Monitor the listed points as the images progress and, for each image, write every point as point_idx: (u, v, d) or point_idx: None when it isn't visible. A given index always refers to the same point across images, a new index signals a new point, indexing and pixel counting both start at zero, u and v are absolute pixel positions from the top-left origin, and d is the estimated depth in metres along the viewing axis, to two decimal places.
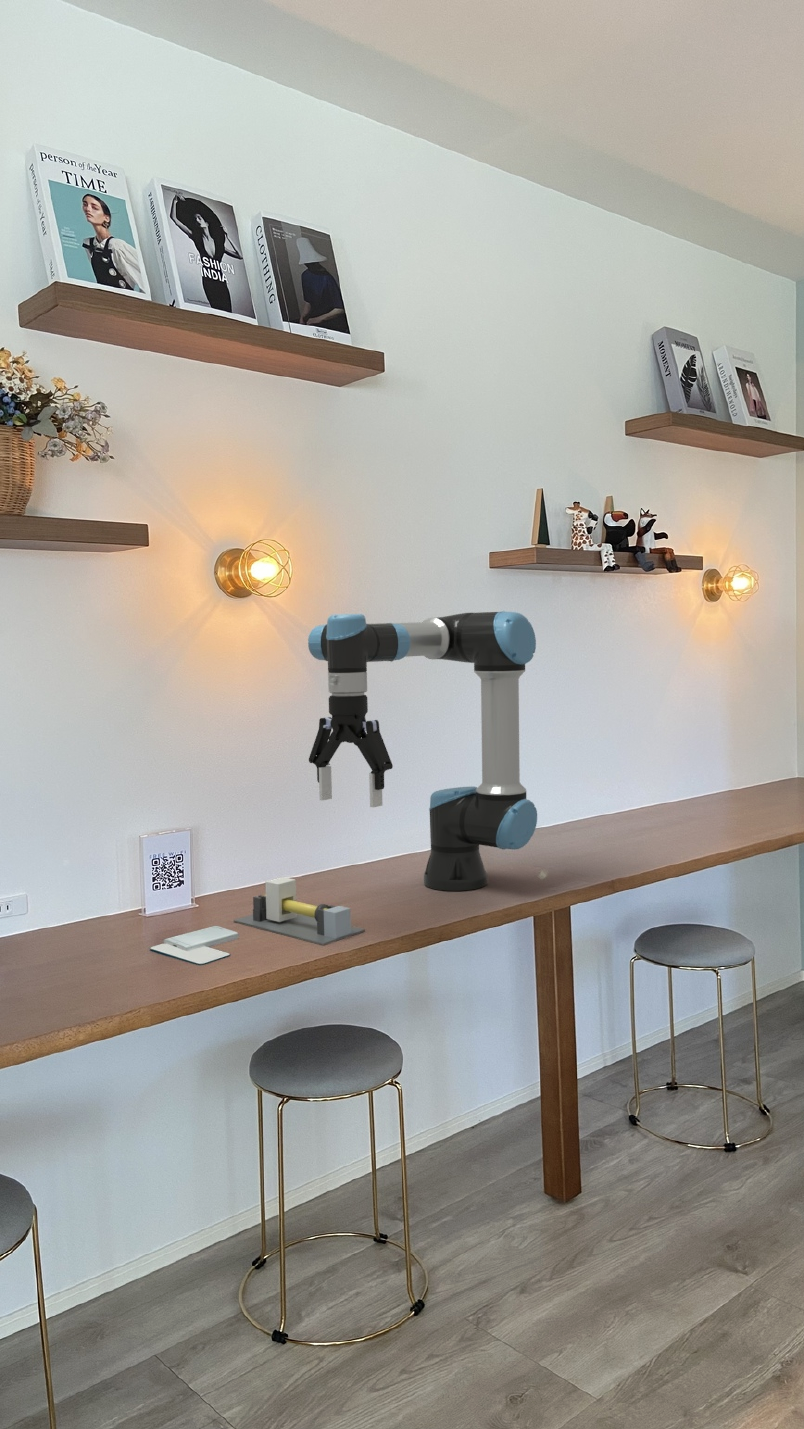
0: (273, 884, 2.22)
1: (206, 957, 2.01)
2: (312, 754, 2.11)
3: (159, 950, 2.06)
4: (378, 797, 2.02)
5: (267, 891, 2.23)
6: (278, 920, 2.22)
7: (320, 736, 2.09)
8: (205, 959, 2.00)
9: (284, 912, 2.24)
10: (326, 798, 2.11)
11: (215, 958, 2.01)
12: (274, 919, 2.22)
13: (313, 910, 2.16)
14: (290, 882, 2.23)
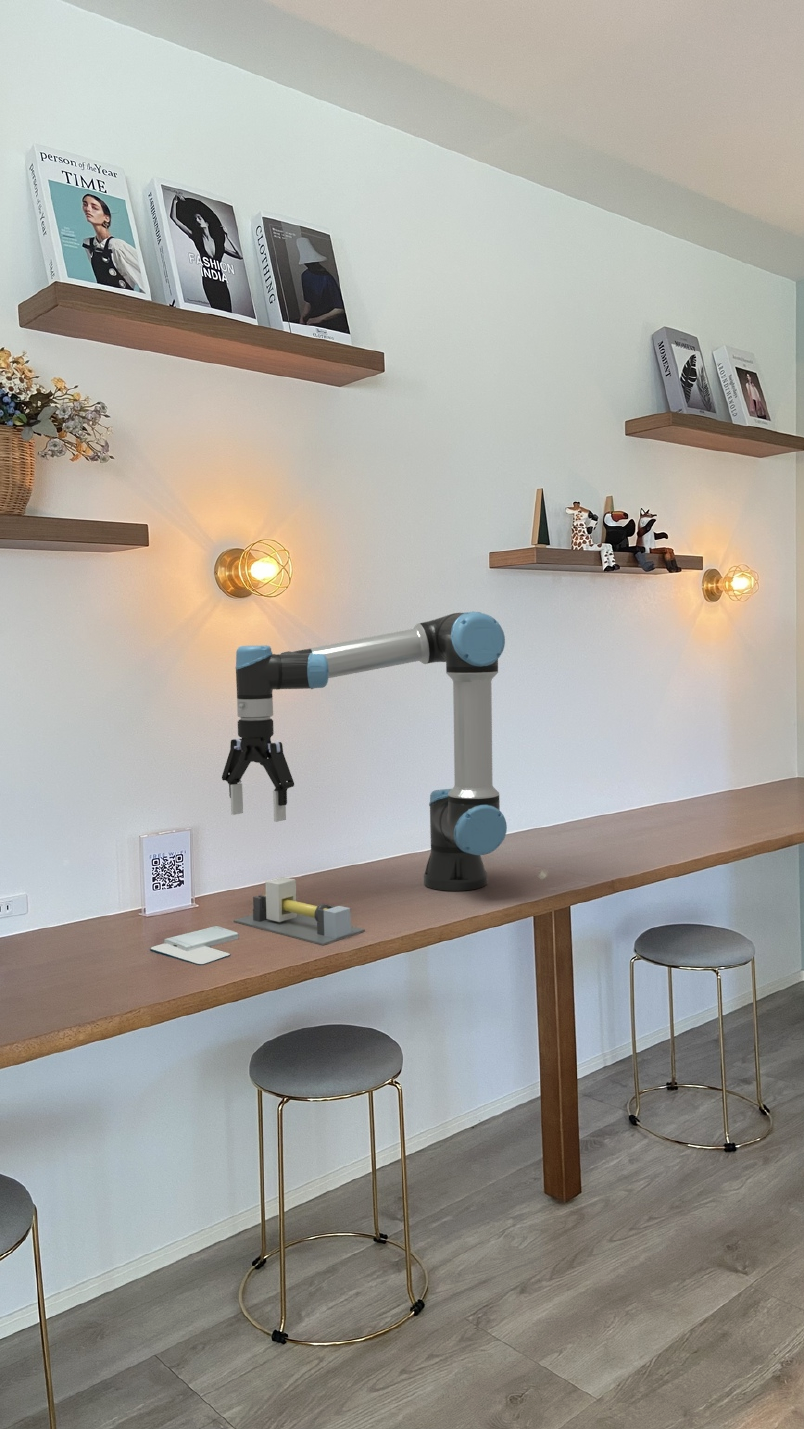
0: (273, 884, 2.22)
1: (206, 958, 2.01)
2: (224, 773, 2.31)
3: (159, 950, 2.06)
4: (282, 812, 2.22)
5: (267, 891, 2.23)
6: (278, 920, 2.22)
7: (231, 756, 2.29)
8: (205, 960, 2.00)
9: (284, 912, 2.24)
10: (237, 812, 2.31)
11: (215, 958, 2.01)
12: (274, 919, 2.22)
13: (313, 910, 2.16)
14: (290, 882, 2.23)
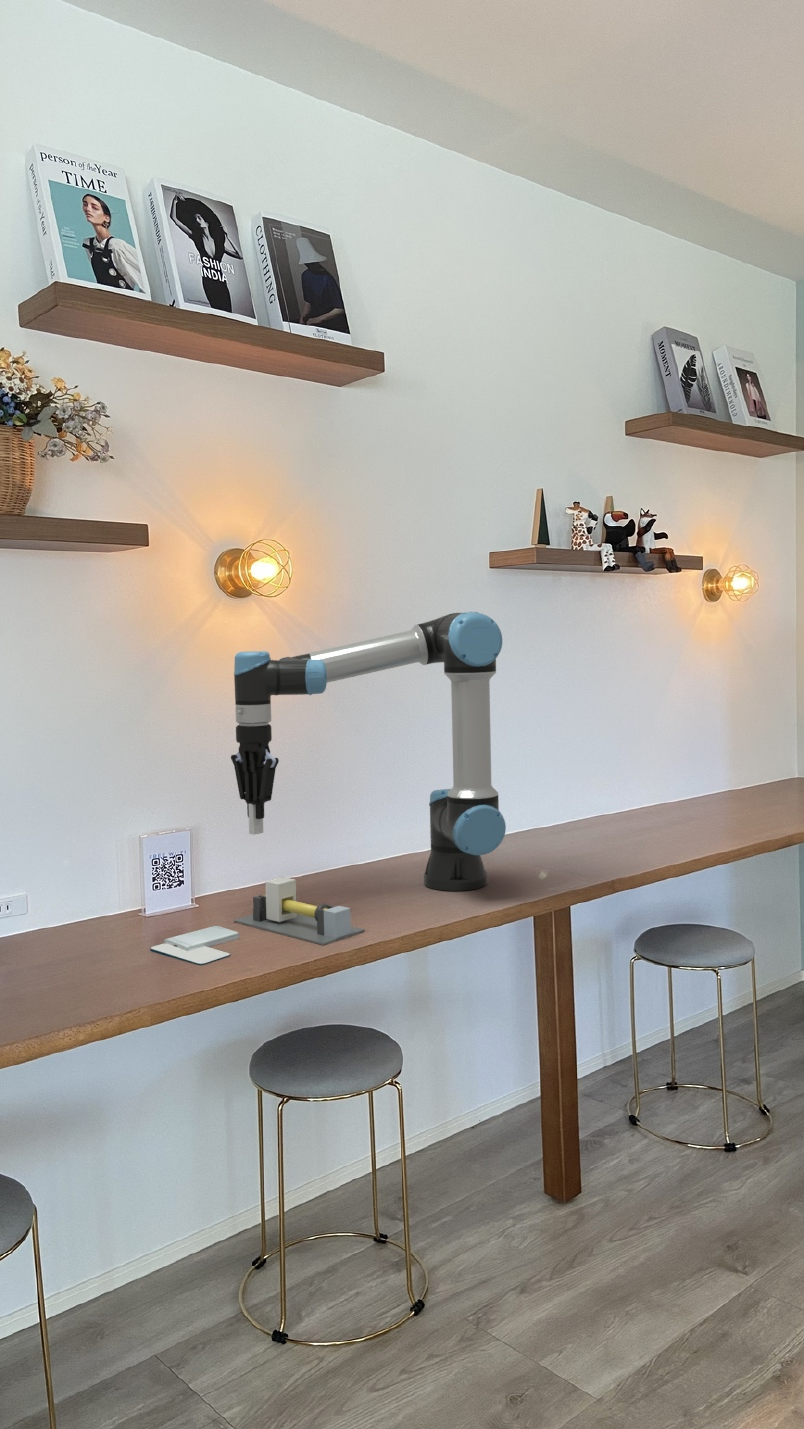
0: (273, 884, 2.22)
1: (207, 957, 2.01)
2: (240, 791, 2.28)
3: (159, 950, 2.06)
4: (259, 825, 2.27)
5: (267, 891, 2.23)
6: (278, 920, 2.22)
7: (238, 770, 2.28)
8: (205, 959, 2.00)
9: (284, 912, 2.24)
10: None
11: (215, 958, 2.01)
12: (274, 919, 2.22)
13: (313, 910, 2.16)
14: (290, 882, 2.23)
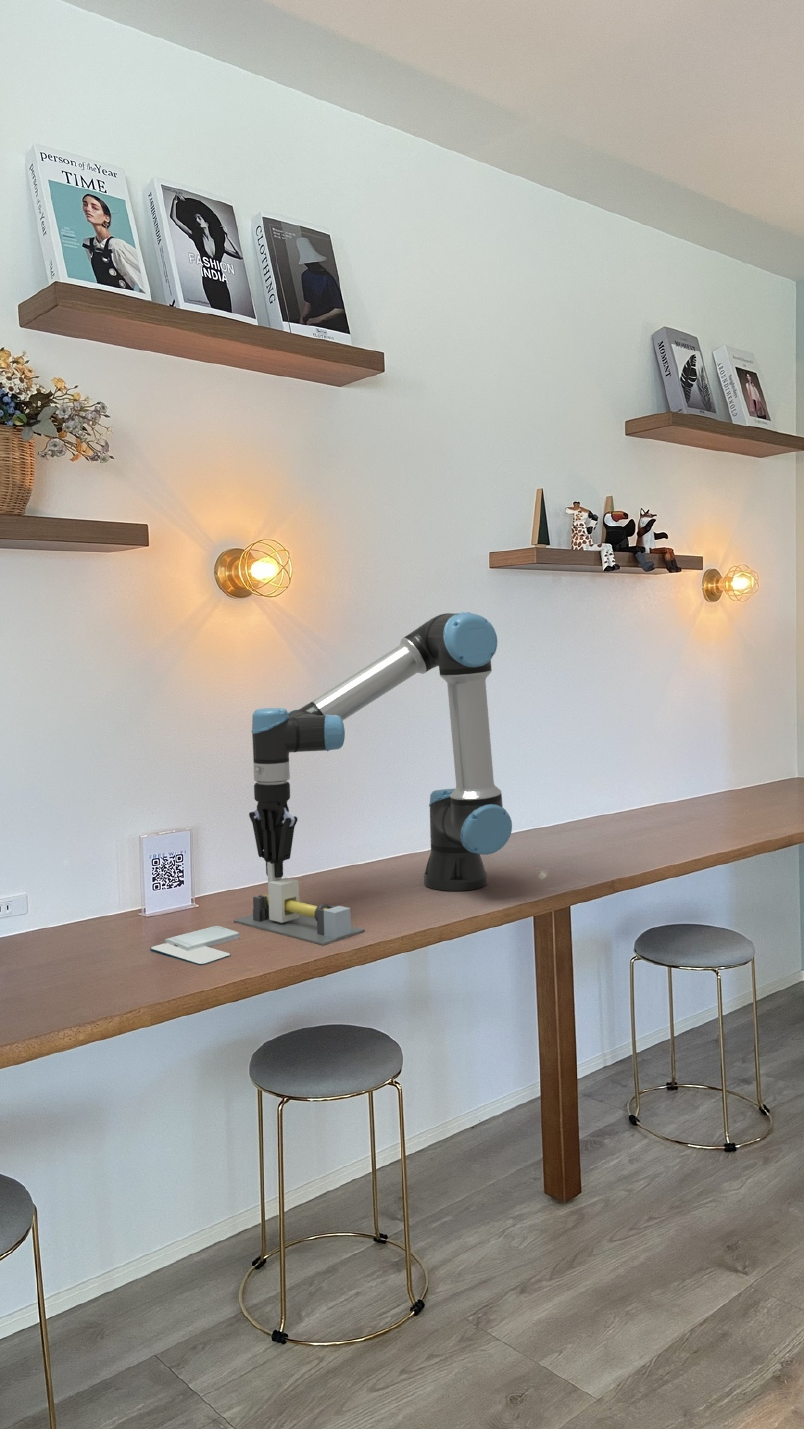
0: (276, 885, 2.21)
1: (207, 958, 2.01)
2: (258, 849, 2.26)
3: (160, 950, 2.06)
4: None
5: (270, 892, 2.23)
6: (281, 921, 2.21)
7: (256, 828, 2.26)
8: (206, 960, 2.00)
9: (287, 913, 2.24)
10: None
11: (216, 958, 2.01)
12: (277, 920, 2.22)
13: (313, 910, 2.16)
14: (293, 883, 2.23)
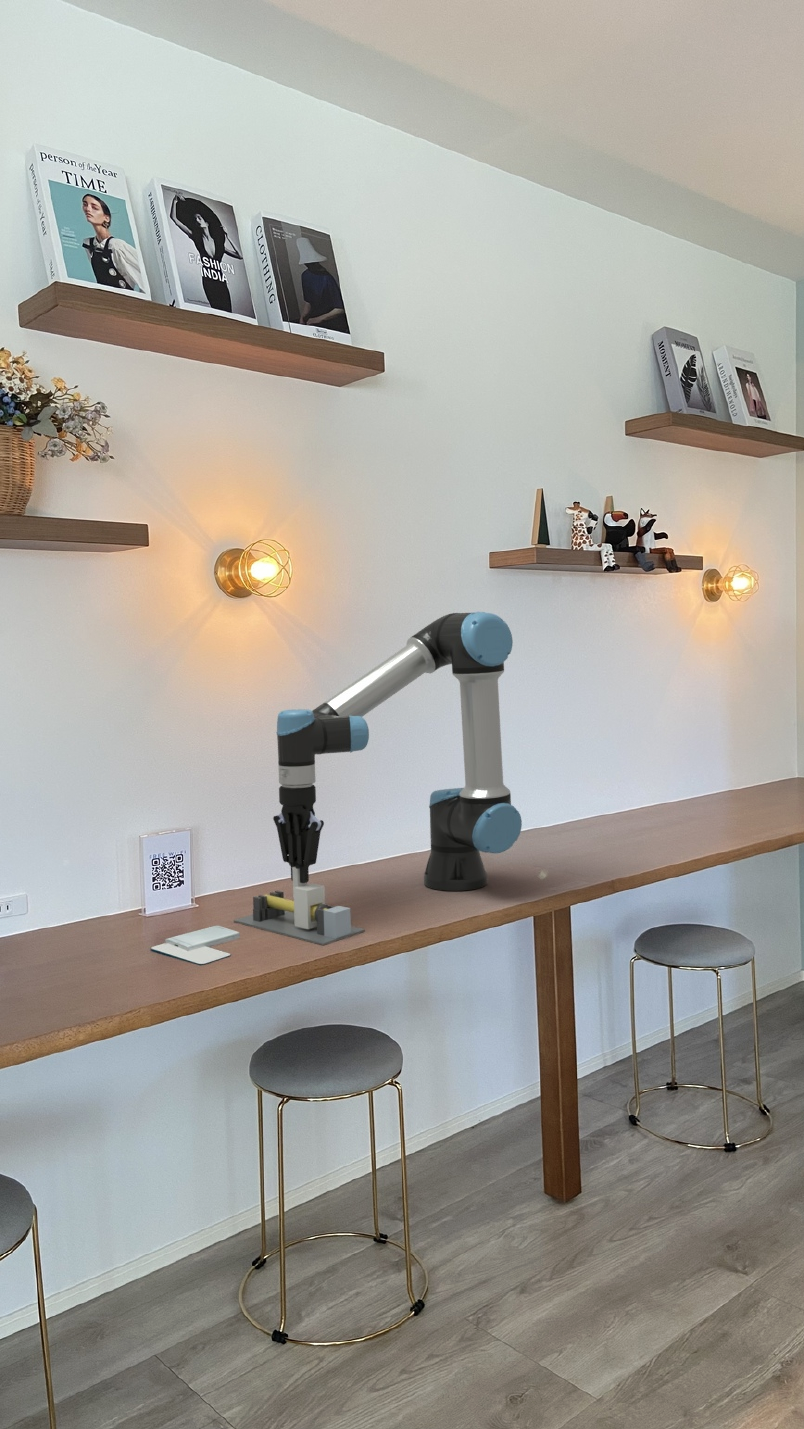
0: (302, 890, 2.16)
1: (207, 958, 2.01)
2: (283, 853, 2.21)
3: (160, 950, 2.06)
4: None
5: (295, 897, 2.17)
6: (307, 927, 2.16)
7: (281, 832, 2.21)
8: (206, 960, 2.00)
9: (313, 919, 2.19)
10: None
11: (216, 958, 2.01)
12: (303, 927, 2.17)
13: (313, 910, 2.16)
14: (319, 888, 2.18)
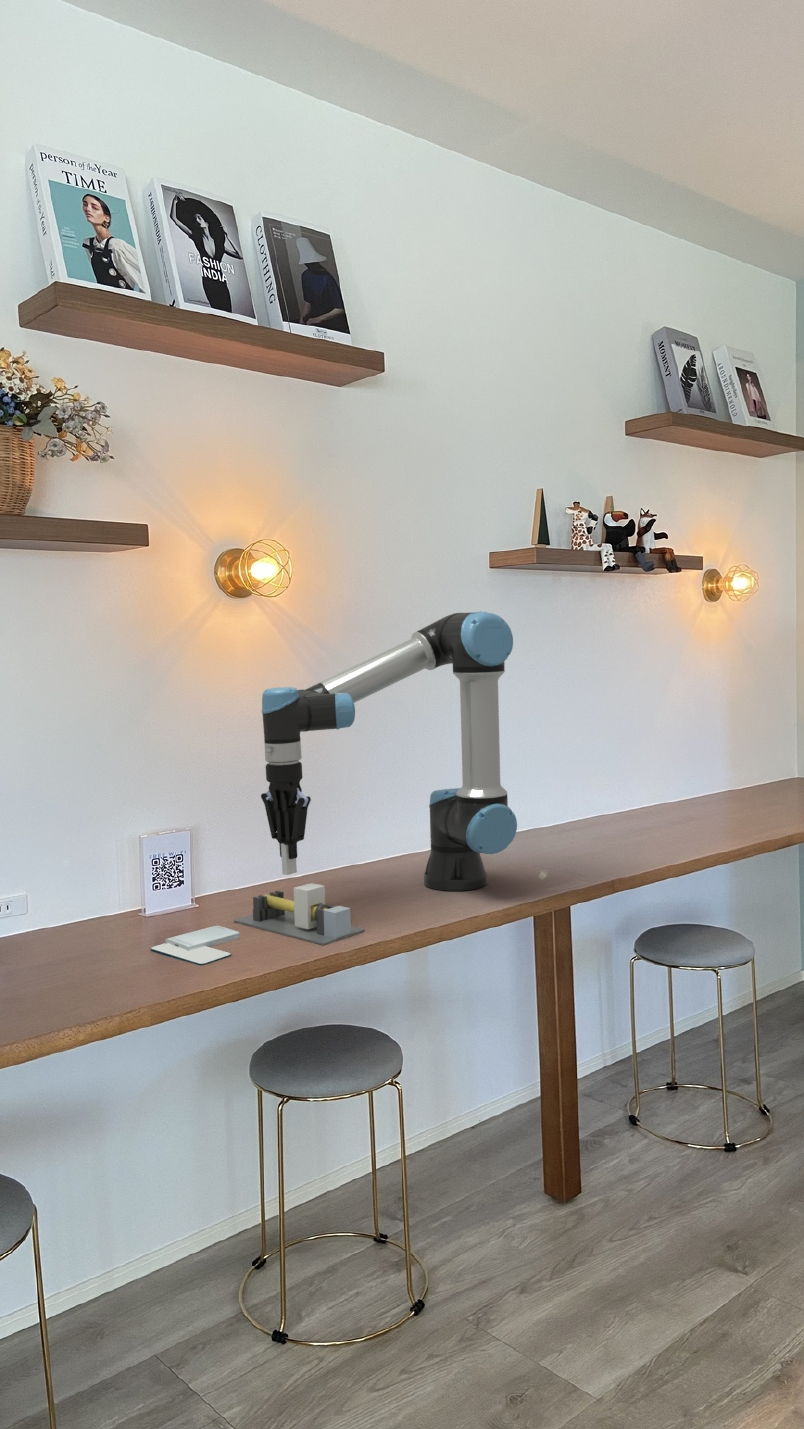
0: (302, 890, 2.16)
1: (207, 957, 2.01)
2: (272, 830, 2.23)
3: (160, 950, 2.06)
4: (292, 865, 2.22)
5: (295, 897, 2.17)
6: (307, 927, 2.16)
7: (268, 809, 2.23)
8: (206, 959, 2.00)
9: (313, 919, 2.19)
10: None
11: (216, 958, 2.01)
12: (303, 927, 2.17)
13: (313, 910, 2.16)
14: (319, 888, 2.18)
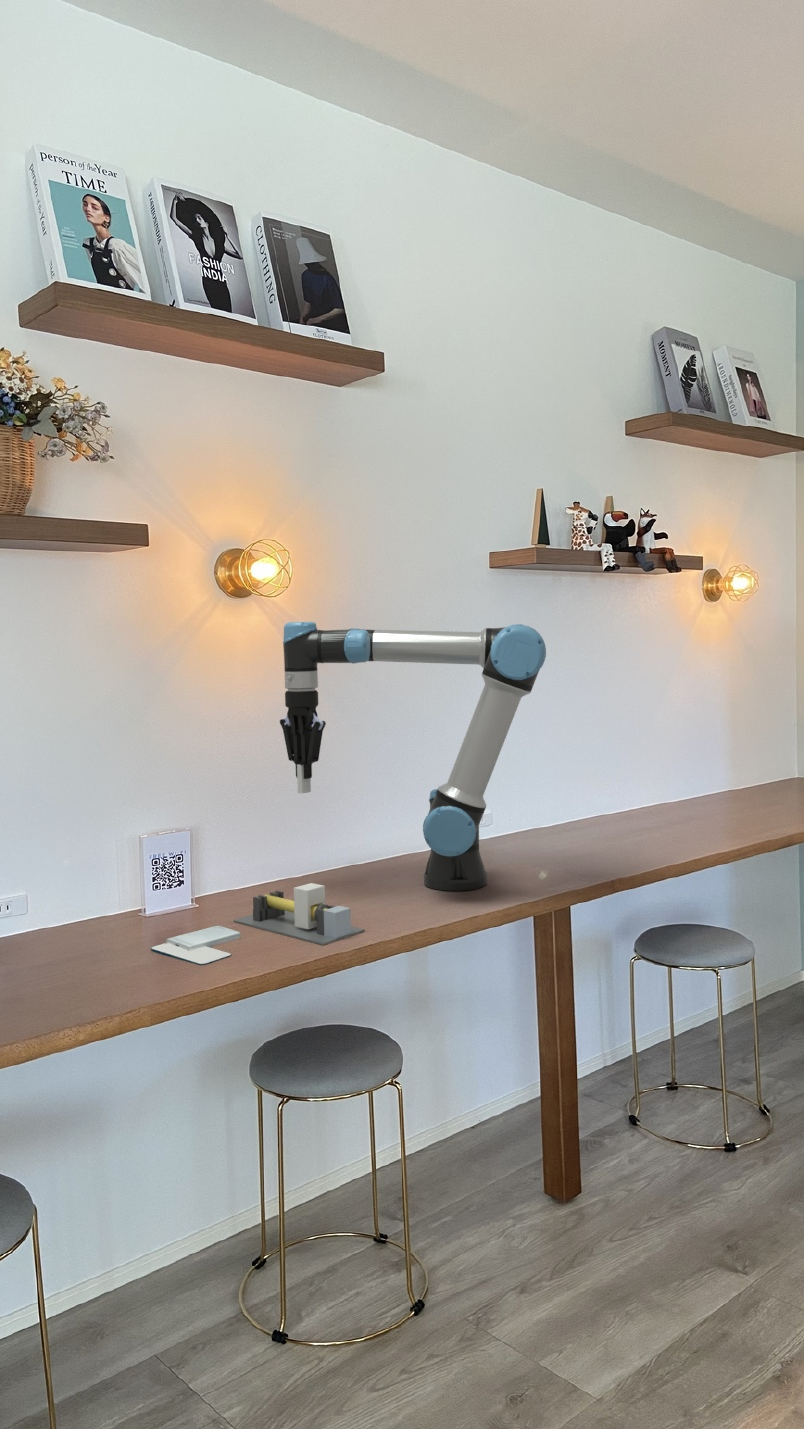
0: (302, 890, 2.16)
1: (208, 958, 2.01)
2: (289, 753, 2.44)
3: (160, 950, 2.06)
4: (307, 785, 2.43)
5: (295, 897, 2.17)
6: (307, 927, 2.16)
7: (286, 733, 2.44)
8: (206, 960, 2.00)
9: (313, 919, 2.19)
10: None
11: (216, 958, 2.01)
12: (303, 927, 2.17)
13: (313, 910, 2.16)
14: (319, 888, 2.18)
